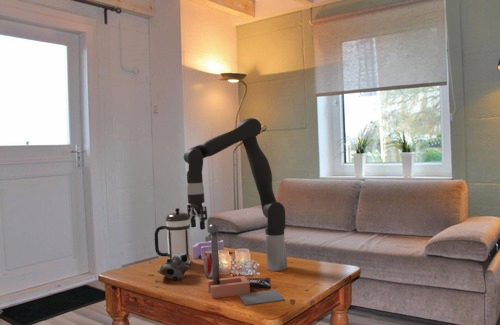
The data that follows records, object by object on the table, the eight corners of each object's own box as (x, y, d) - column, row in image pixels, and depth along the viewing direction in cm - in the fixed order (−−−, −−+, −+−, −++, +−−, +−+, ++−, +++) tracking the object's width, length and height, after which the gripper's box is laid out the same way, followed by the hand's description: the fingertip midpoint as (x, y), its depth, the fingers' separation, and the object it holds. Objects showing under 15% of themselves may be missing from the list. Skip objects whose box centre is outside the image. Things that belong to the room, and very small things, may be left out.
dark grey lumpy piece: (165, 273, 215) (177, 247, 217) (186, 284, 212) (198, 257, 214) (152, 273, 201) (166, 245, 203) (174, 284, 197) (187, 256, 199)
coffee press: (181, 258, 242) (178, 205, 241) (200, 263, 231) (197, 207, 230) (155, 266, 230) (152, 209, 229) (173, 271, 219) (170, 211, 218)
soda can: (217, 278, 202) (216, 253, 202) (202, 278, 204) (201, 253, 203) (221, 274, 209) (220, 249, 209) (207, 274, 211) (206, 249, 210)
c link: (244, 286, 190) (244, 275, 190) (250, 293, 180) (249, 282, 180) (208, 290, 186) (207, 280, 186) (211, 298, 176) (211, 287, 176)
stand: (221, 291, 185) (217, 222, 183) (223, 294, 180) (219, 224, 179) (210, 292, 183) (207, 223, 182) (212, 295, 179) (209, 225, 178)
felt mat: (275, 290, 182) (275, 289, 182) (285, 300, 170) (284, 299, 170) (238, 295, 178) (238, 294, 178) (245, 305, 166) (245, 304, 166)
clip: (212, 250, 260) (212, 238, 260) (229, 252, 253) (228, 240, 252) (189, 258, 244) (188, 246, 243) (206, 260, 236) (205, 248, 236)
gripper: (210, 192, 193) (213, 228, 194) (195, 191, 205) (197, 225, 206) (195, 194, 189) (198, 231, 190) (181, 192, 201) (183, 227, 201)
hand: (198, 228), depth 198 cm, fingers open, 8 cm apart
